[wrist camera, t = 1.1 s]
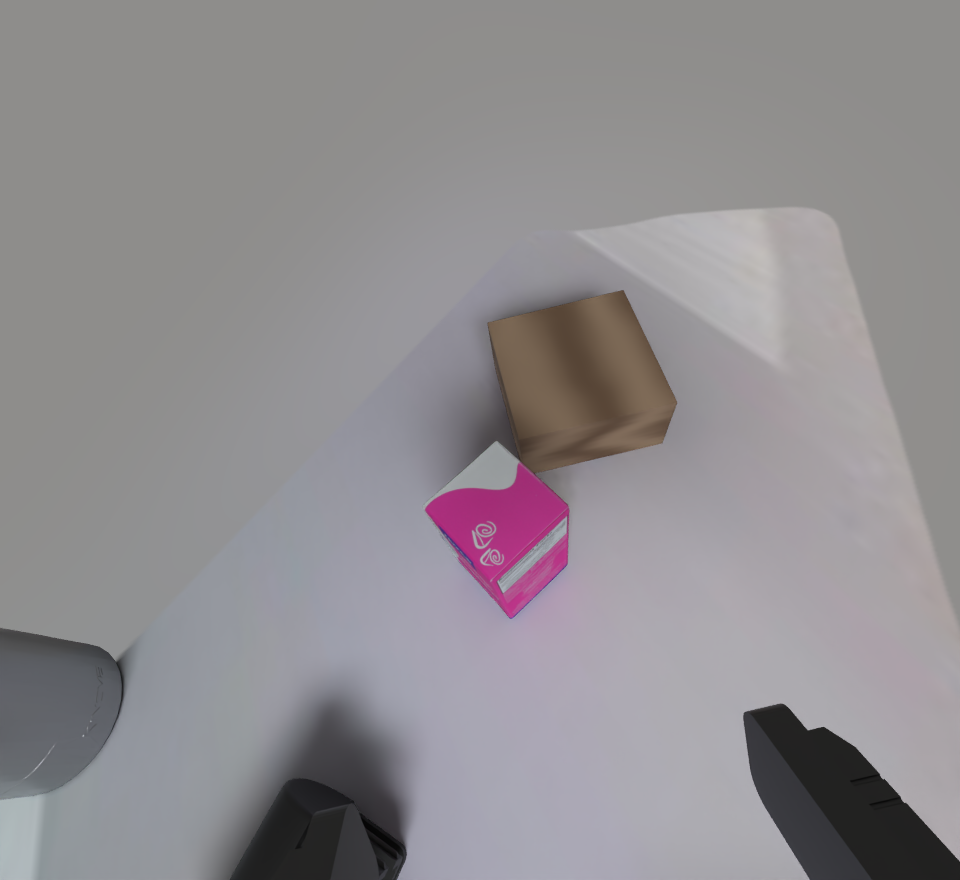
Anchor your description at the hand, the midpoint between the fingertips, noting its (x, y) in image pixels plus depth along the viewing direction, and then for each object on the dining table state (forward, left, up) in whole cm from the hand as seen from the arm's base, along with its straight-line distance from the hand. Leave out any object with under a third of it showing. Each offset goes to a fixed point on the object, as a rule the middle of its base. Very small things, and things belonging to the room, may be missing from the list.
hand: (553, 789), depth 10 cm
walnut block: (+8, +24, -24) cm, 34 cm away
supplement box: (0, +12, -24) cm, 26 cm away
